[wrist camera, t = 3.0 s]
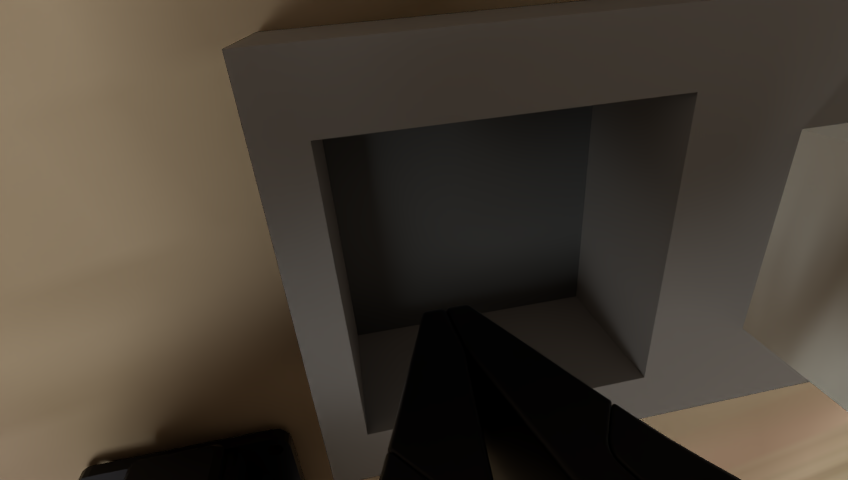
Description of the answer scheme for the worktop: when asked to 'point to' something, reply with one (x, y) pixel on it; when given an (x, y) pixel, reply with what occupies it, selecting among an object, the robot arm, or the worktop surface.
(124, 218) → the worktop surface
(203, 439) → the worktop surface
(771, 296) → the cream block
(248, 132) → the trap deck
